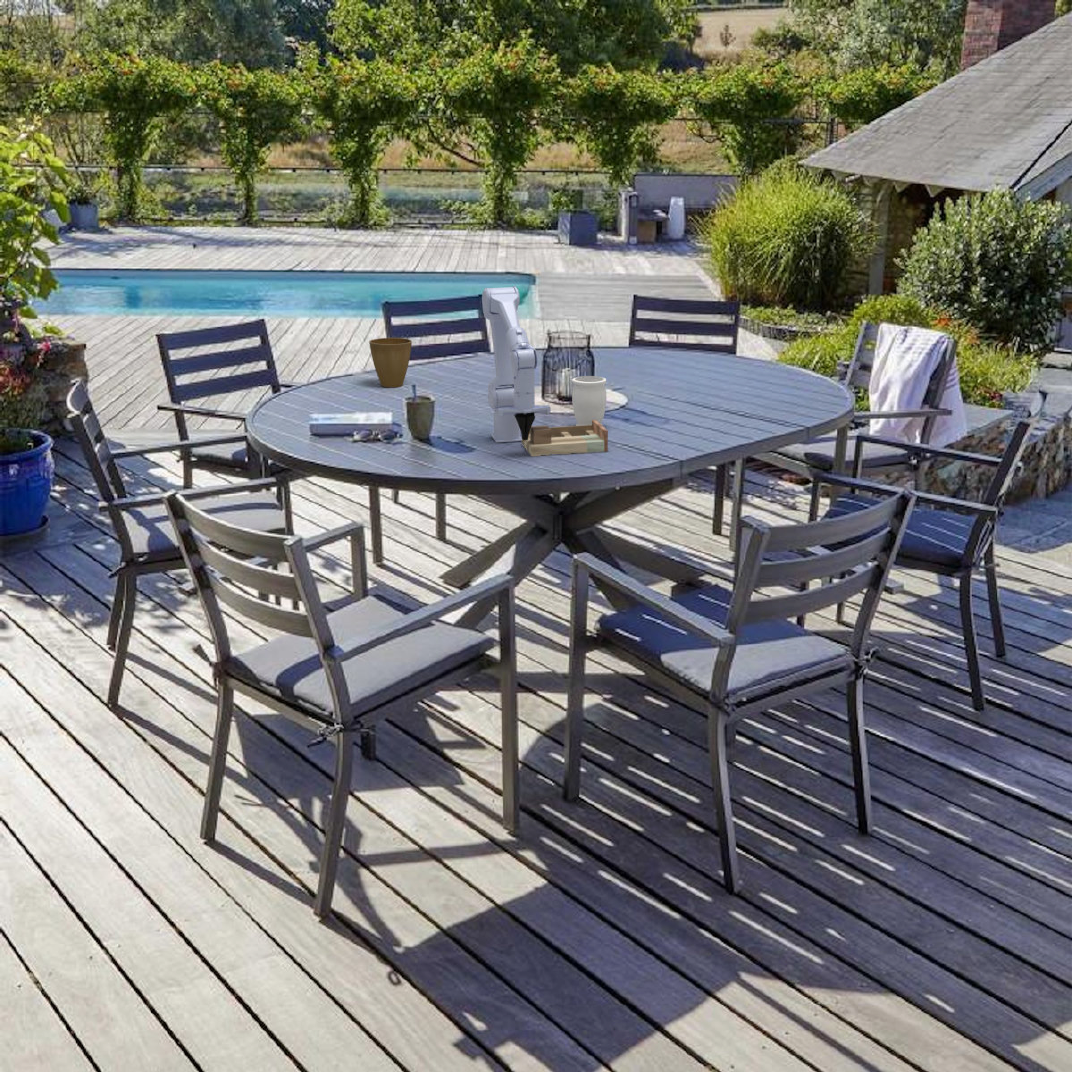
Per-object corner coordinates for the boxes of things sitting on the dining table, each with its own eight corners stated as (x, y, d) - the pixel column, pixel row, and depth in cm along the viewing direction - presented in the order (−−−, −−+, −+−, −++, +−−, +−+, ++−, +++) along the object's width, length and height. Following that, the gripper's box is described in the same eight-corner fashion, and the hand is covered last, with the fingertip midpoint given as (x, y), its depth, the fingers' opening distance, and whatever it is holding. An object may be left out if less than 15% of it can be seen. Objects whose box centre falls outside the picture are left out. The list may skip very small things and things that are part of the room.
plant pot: (399, 391, 436) (397, 345, 431) (363, 387, 442) (360, 342, 437) (421, 383, 449) (419, 338, 444) (385, 380, 455) (383, 336, 450)
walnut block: (530, 440, 357) (530, 426, 356) (547, 439, 358) (547, 425, 357) (534, 444, 352) (533, 430, 351) (551, 443, 353) (551, 429, 352)
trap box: (521, 444, 365) (521, 424, 363) (595, 439, 369) (595, 419, 367) (531, 456, 352) (531, 435, 350) (607, 451, 356) (607, 430, 354)
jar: (609, 430, 379) (609, 381, 374) (575, 432, 378) (575, 383, 373) (602, 422, 389) (602, 374, 384) (569, 424, 388) (569, 376, 383)
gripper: (501, 396, 345) (502, 444, 349) (552, 393, 347) (553, 441, 352) (496, 391, 351) (497, 438, 355) (547, 388, 354) (547, 435, 358)
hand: (524, 439), depth 354 cm, fingers closed
